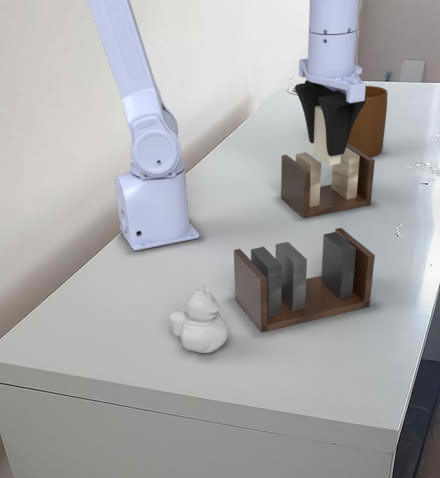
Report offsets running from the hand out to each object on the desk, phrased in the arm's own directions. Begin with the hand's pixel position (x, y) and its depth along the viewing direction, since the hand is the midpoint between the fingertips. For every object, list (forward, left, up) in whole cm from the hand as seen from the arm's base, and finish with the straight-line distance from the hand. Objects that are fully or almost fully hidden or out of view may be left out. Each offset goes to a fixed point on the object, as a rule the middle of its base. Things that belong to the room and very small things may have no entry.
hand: (326, 148), depth 95 cm
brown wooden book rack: (+3, +6, -10) cm, 12 cm away
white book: (0, 0, -1) cm, 1 cm away
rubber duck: (-27, -24, -10) cm, 37 cm away
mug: (+16, +24, -10) cm, 31 cm away
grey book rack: (-13, -20, -10) cm, 26 cm away
